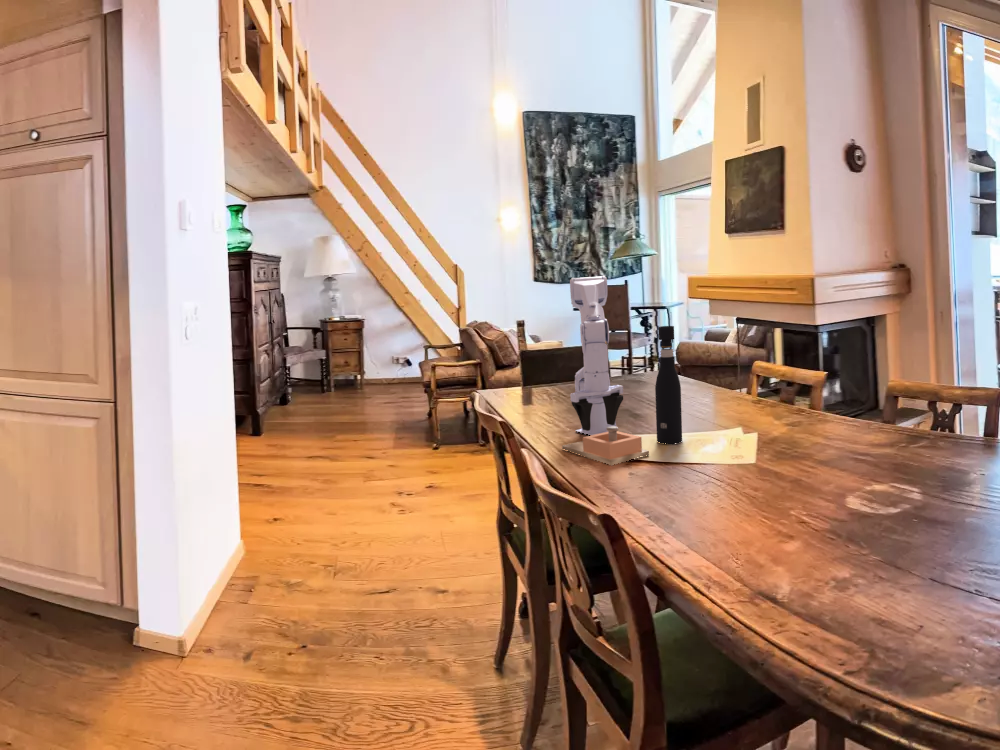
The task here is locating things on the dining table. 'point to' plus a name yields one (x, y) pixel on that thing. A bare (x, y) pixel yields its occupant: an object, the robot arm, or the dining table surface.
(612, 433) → the thin beige base plate
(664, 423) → the black water bottle
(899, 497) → the dining table surface
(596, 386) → the robot arm
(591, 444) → the pink square frame
